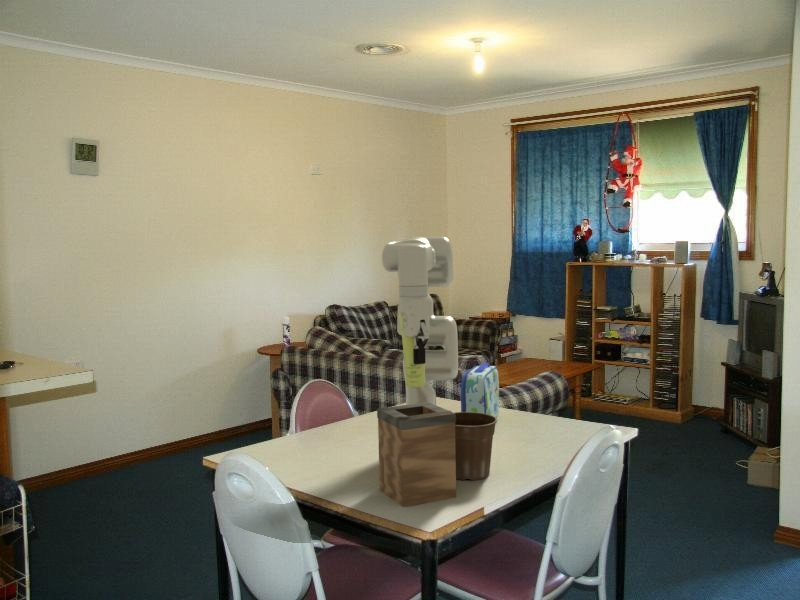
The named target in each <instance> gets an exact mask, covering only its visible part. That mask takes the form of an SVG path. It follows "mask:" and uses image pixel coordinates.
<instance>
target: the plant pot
mask: <svg viewBox="0 0 800 600" xmlns="http://www.w3.org/2000/svg"><path fill="white" fill-rule="evenodd" d="M454 413H456V423H455V453H456V480H462V481H465V480H467V479H468V480H470V481H476V480H483V479H486V478H488V477H489V476H490V471H491V462H492V461H491V459H492V449H493V439H494V435H495V432H496V431H495V429H496V424H497V422H498V417H497V418H496V417H494V416H492V415H489V414H485V413H478V412H461V411H459V412H457V411H456V412H454Z"/></svg>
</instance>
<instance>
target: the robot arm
mask: <svg viewBox="0 0 800 600" xmlns="http://www.w3.org/2000/svg"><path fill="white" fill-rule="evenodd" d="M453 254H454V253H453V247H452V243H451V241H450V240H449V239H448V237H446V236H442V235H441V236H414V237H411V238H410V239H405V240H400V241H391V242H388V243H386V244H385V245H384V247H383V248H382V253H381V261H382V266H383V268H384V270H385V271H387V273H388V272H390V273H395V272H396V274H397V279H398V303H397V305H398V306H397V313H398V312H401V317H402V320H403V321H402V322H403V335H404V336H406V337H410V338H413V339H414V346H415V349H413V362H414V364H425V386H423V387H415V388H413V387H407V386H406V376H405V363H404V357H403V358H402V370H403V375H404V381H405V401H406V403H405V405H409V404H417V403H425V402H429V403H431V404H434V405H436V406H437V394H436V391H435V389H434V388H433V386H432V385H431V383H429V382H431V381H453V380H455V379H456V378H457V376H458V374H459V373H458V372H459V347H458V346H459V344H458V343H459V341H458V339H459V338H458V326H457V322H456V320H455V318H453V317H452V316H449V315H435V313H434V300H433V298H432V296H431V295H430V294H429V288H444V287H448V286H450V285H451V284H452V283H453V280H454V258H453V257H454V256H453ZM396 318H397V320H396V321H397V322H396V323H397V324H396V326H397V327H396V328H397V330H396V332H397V333H398V334H399V335H400V336H402V334H401V327H400V320H399V316H398V314H397V317H396ZM418 334H422V336H417V335H418ZM417 339H420V340H419V342H418V340H417ZM439 346H440V347H442V348H443V349H436V350H435V349H427V347H439Z"/></svg>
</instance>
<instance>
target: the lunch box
mask: <svg viewBox="0 0 800 600" xmlns="http://www.w3.org/2000/svg"><path fill="white" fill-rule="evenodd" d="M459 396H460V412H478V413H485V414H489V415H492V416H494V417H496V418H497V419H498V417H499V412H500V411H499V409H500V407H499V399H500V383H499V371H498V367H497V366H496V365H490V363H481V365H475V366H473V367H472V368H470V369H468V370H466V371H464V373H463V372H462V375H461V382H460V385H459Z"/></svg>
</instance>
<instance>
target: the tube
mask: <svg viewBox="0 0 800 600" xmlns="http://www.w3.org/2000/svg"><path fill="white" fill-rule="evenodd" d="M397 315H398V316H399V320H400V327H401V334H402V335H401V341H402V351H403V358H404V363H405V376H406V384H405V387H406V386H407V387H413V388H415V387H423V386H425V364H414V362H413V349H415V346H414V339H413V338H410V337H406V336H404V335H403V322H402V321H403V320H402V317H401V312H398V311H397ZM417 336H422V334H418V335H417ZM417 340H418V342H419V340H420V339H417Z"/></svg>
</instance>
